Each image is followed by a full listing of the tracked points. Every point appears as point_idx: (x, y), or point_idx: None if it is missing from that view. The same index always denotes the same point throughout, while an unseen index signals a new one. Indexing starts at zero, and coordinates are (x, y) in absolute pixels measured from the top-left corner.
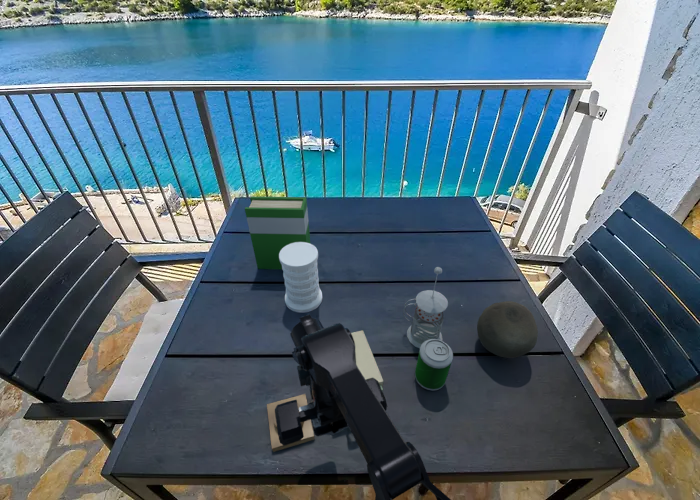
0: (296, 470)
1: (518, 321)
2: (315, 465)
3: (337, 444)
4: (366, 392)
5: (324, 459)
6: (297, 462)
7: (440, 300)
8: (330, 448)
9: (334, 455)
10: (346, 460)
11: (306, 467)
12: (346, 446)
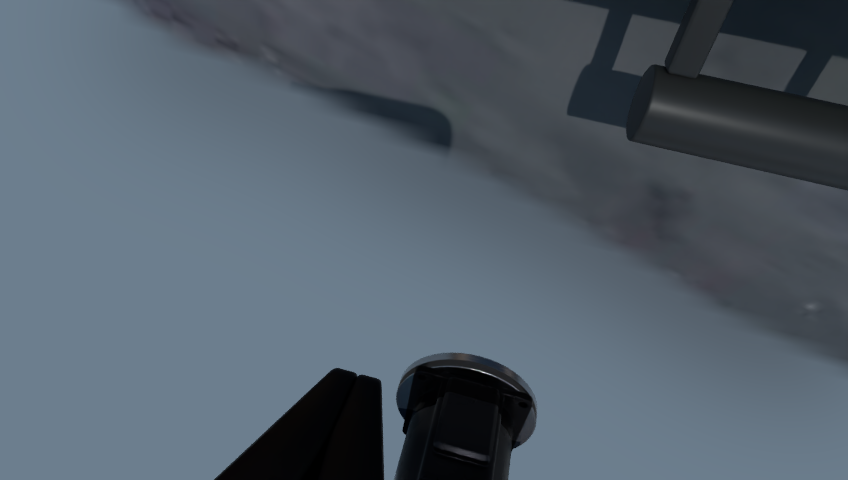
0: (239, 54)
1: None
2: (346, 84)
3: (519, 41)
4: None
5: (405, 81)
6: (249, 15)
7: None
8: (465, 41)
9: (470, 91)
10: (522, 149)
11: (295, 68)
12: (567, 82)
